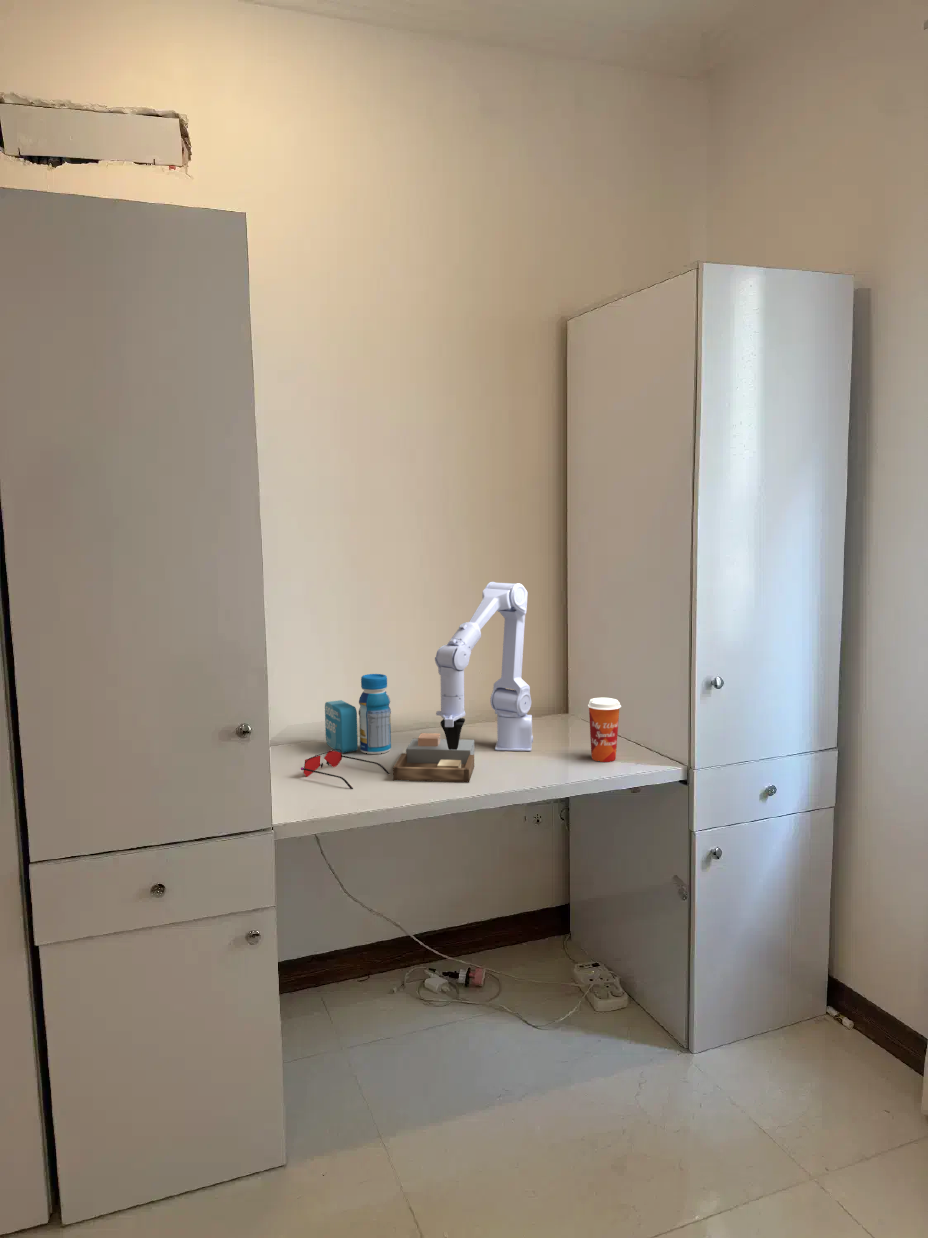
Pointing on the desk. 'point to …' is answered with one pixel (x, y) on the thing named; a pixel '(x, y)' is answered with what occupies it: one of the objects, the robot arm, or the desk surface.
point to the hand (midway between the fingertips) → (453, 749)
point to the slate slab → (439, 752)
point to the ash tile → (449, 764)
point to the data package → (341, 726)
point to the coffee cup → (603, 728)
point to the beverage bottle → (374, 715)
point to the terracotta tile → (429, 739)
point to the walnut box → (431, 771)
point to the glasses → (332, 759)
